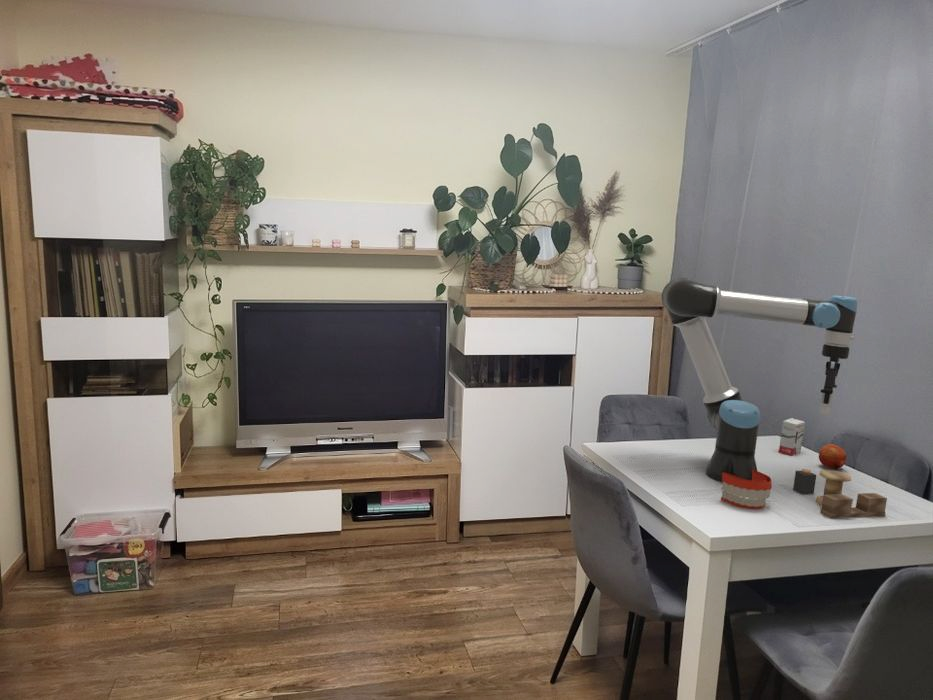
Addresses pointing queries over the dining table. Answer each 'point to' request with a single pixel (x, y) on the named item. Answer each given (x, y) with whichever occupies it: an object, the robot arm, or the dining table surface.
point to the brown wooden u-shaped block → (843, 507)
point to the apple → (832, 456)
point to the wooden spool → (832, 483)
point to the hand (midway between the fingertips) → (825, 410)
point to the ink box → (791, 436)
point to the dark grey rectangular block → (804, 482)
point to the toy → (746, 490)
